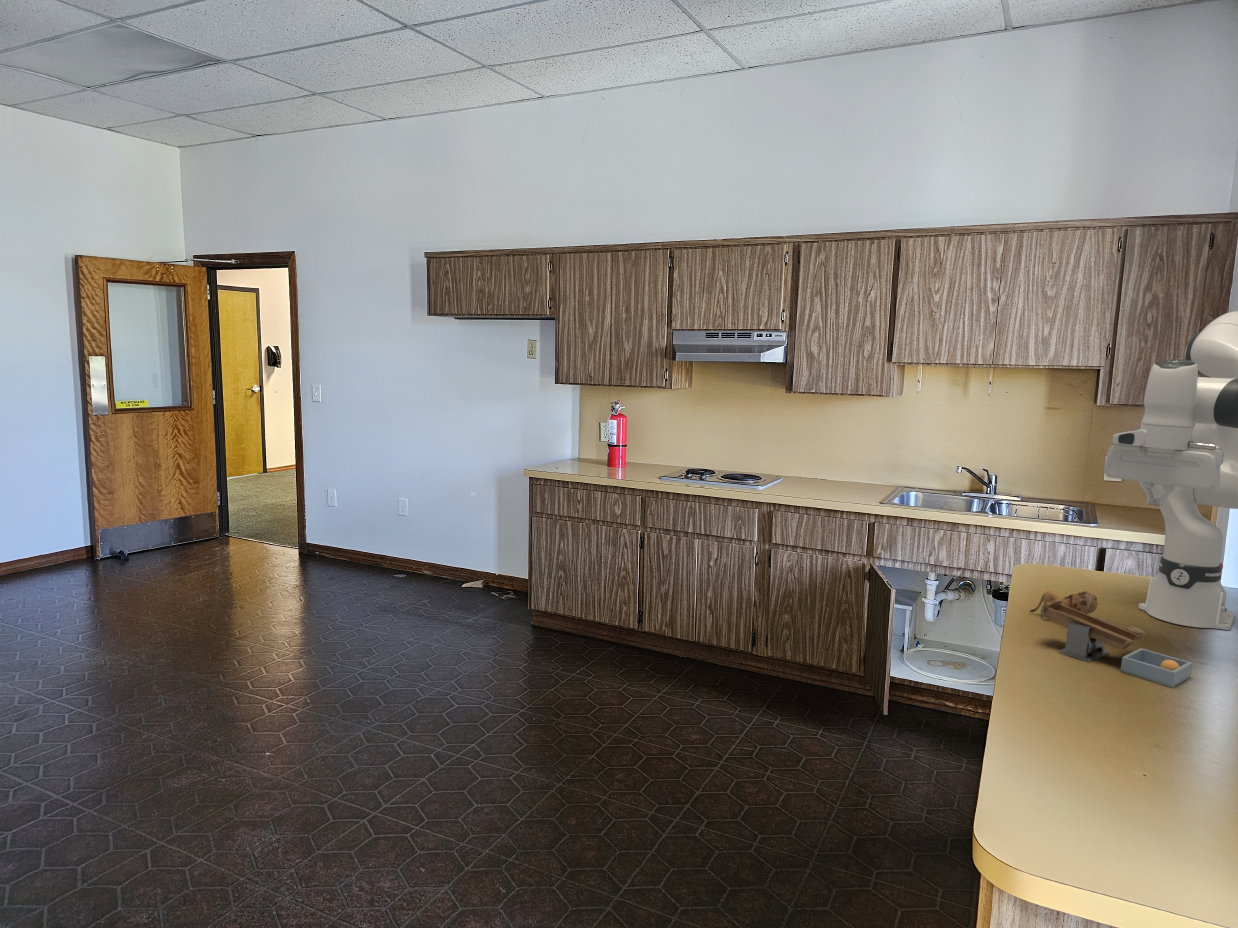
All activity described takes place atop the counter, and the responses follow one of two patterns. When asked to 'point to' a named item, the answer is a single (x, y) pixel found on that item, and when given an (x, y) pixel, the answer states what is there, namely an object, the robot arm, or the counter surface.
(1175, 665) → the ball
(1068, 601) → the lion figurine
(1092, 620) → the lever
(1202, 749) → the counter surface
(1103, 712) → the counter surface
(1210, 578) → the robot arm
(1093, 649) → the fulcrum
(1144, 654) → the tray
